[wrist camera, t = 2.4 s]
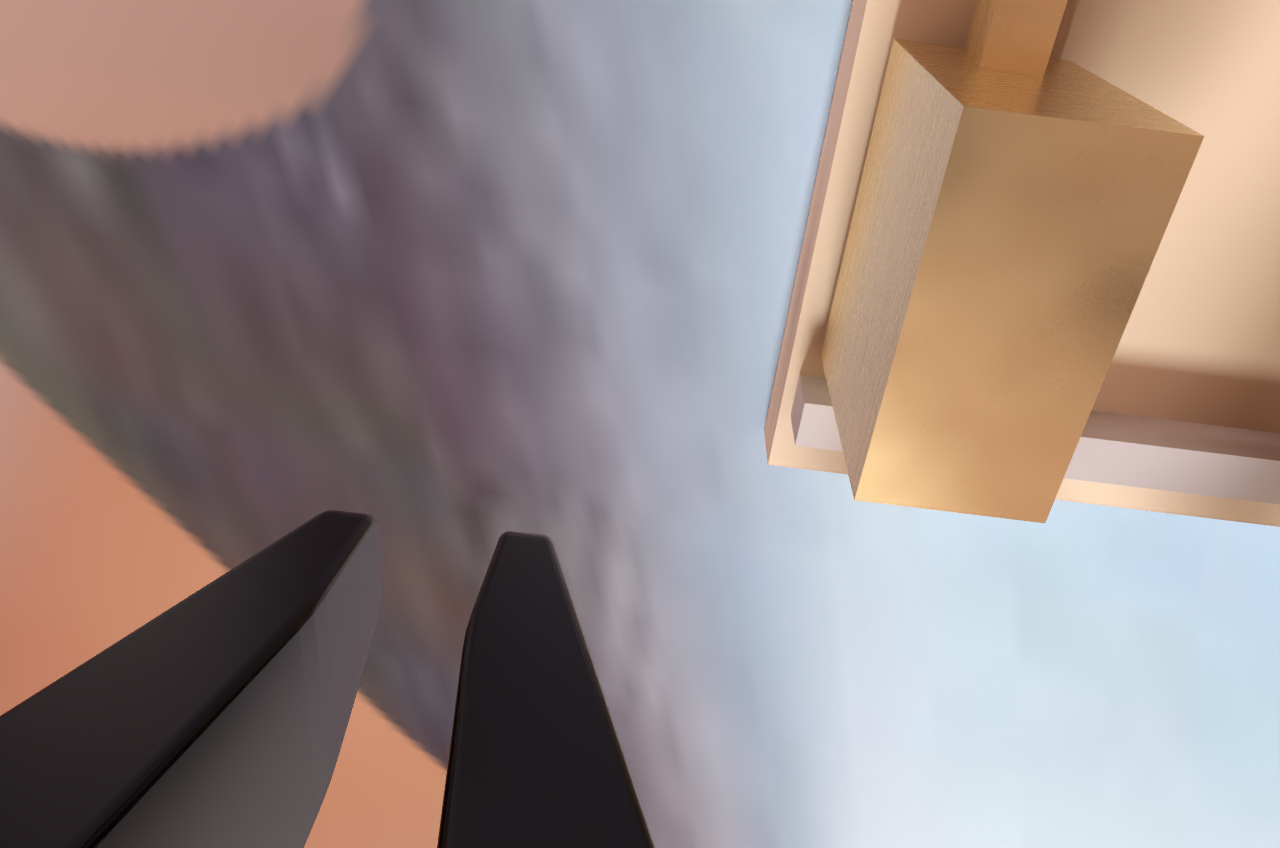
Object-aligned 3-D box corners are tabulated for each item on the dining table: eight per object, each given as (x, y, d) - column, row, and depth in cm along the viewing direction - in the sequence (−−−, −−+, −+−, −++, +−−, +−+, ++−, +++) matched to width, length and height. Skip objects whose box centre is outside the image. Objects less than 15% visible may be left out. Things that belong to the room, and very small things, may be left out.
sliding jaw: (1163, -225, 14) (1367, -260, 10) (967, 373, 19) (1045, 523, 15) (961, -252, 14) (1075, -297, 10) (820, 354, 19) (853, 499, 15)
